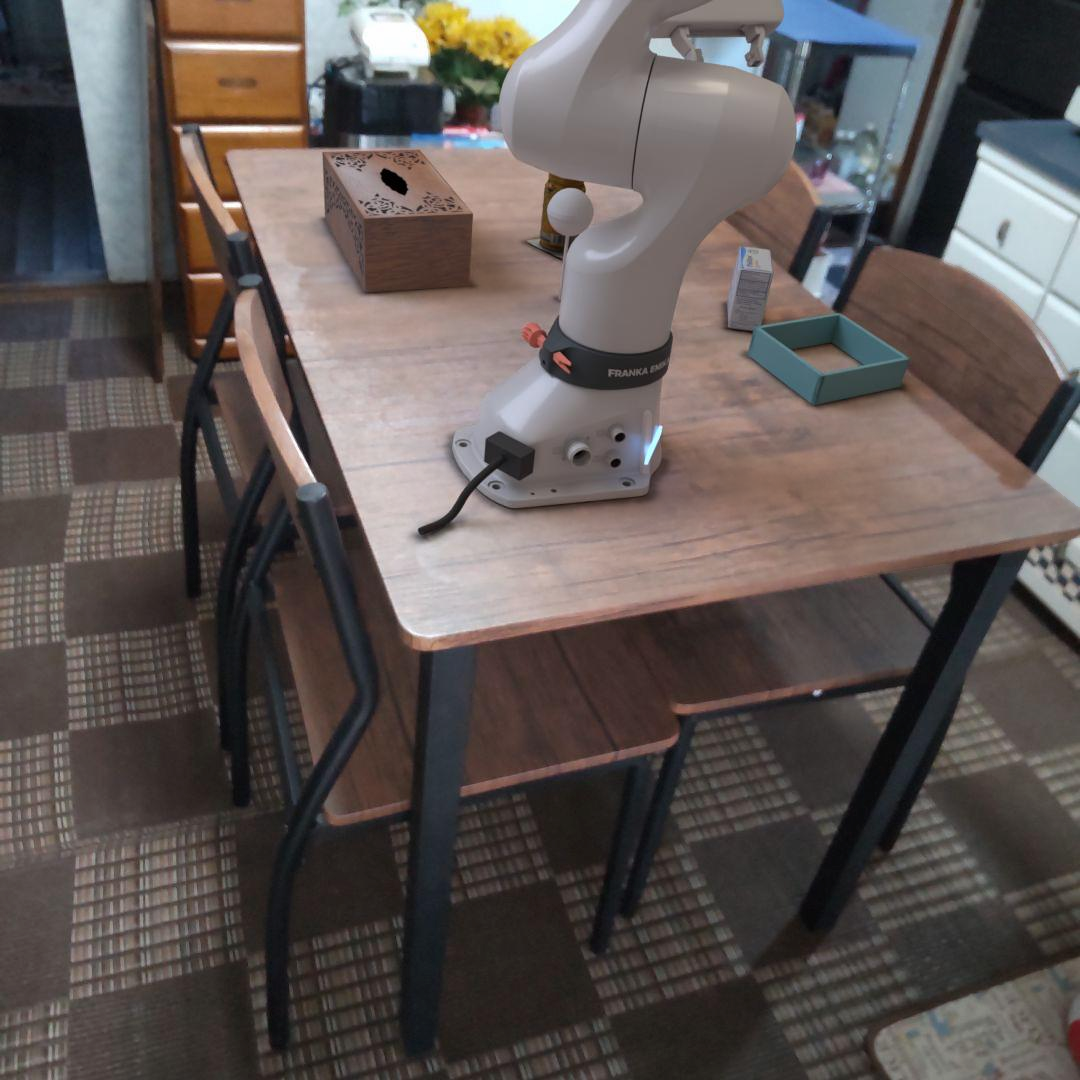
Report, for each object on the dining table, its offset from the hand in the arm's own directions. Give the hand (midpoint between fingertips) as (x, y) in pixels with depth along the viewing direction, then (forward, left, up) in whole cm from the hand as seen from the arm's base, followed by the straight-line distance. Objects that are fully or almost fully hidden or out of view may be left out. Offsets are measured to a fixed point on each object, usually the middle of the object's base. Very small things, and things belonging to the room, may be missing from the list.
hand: (726, 65), depth 125 cm
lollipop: (-20, +1, -30) cm, 36 cm away
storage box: (+3, -27, -29) cm, 40 cm away
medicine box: (+2, -12, -30) cm, 32 cm away
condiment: (-11, +17, -30) cm, 36 cm away
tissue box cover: (-36, +22, -30) cm, 51 cm away
